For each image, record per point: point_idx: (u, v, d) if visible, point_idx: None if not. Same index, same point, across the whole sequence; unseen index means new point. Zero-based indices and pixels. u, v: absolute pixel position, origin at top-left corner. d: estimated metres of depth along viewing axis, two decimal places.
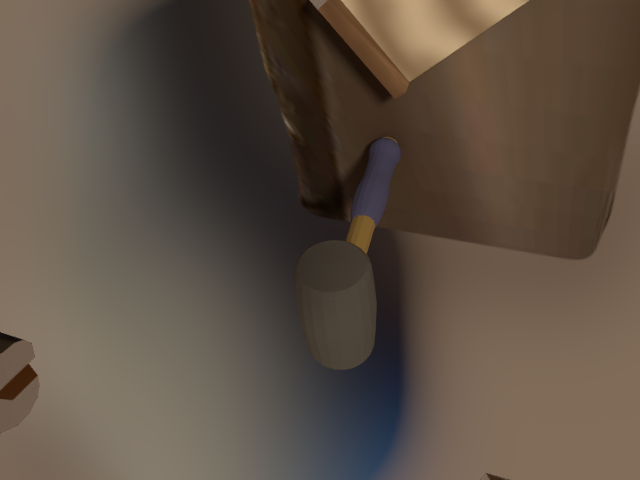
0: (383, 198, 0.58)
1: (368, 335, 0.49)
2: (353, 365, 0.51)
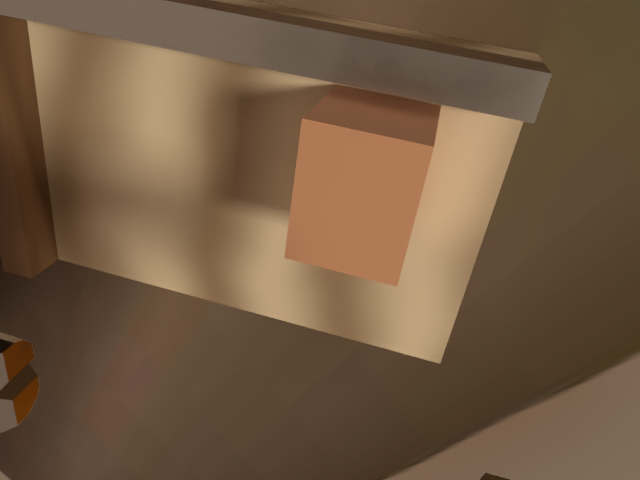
0: None
1: None
2: None
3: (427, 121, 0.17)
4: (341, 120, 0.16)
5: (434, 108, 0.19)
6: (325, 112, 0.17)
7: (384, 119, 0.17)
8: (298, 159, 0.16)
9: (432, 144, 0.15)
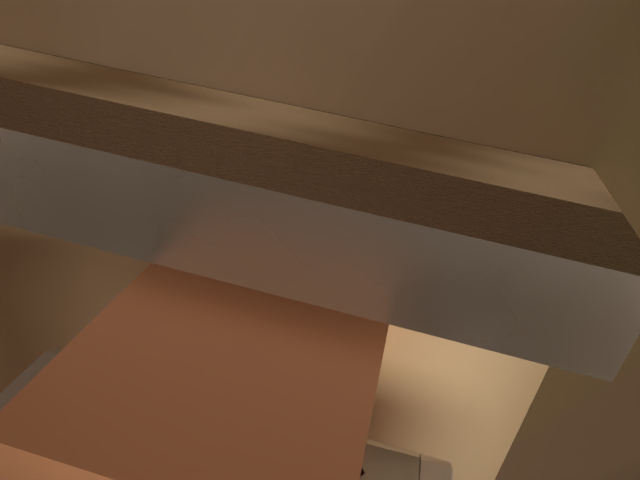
0: None
1: None
2: None
3: (353, 373, 0.07)
4: (105, 421, 0.06)
5: None
6: (81, 374, 0.06)
7: (240, 383, 0.07)
8: None
9: None
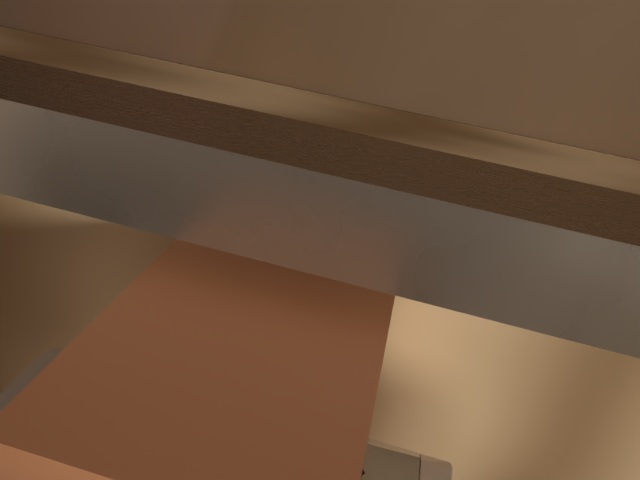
0: None
1: None
2: None
3: (354, 373, 0.07)
4: (105, 421, 0.06)
5: (381, 298, 0.09)
6: (82, 375, 0.06)
7: (241, 383, 0.07)
8: None
9: None
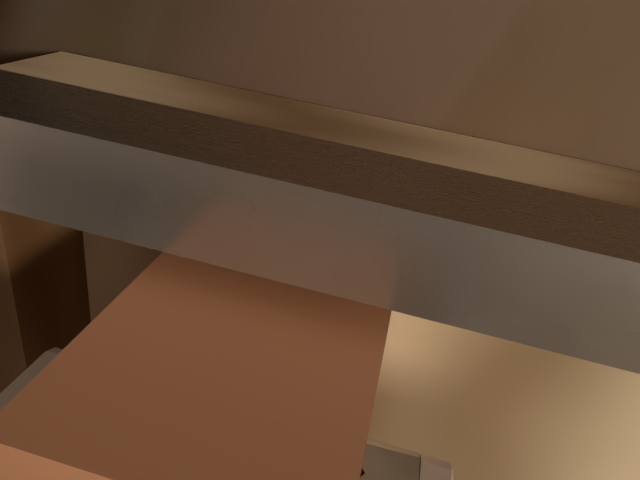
0: None
1: None
2: None
3: (353, 373, 0.07)
4: (104, 421, 0.06)
5: None
6: (82, 375, 0.06)
7: (240, 383, 0.07)
8: None
9: None
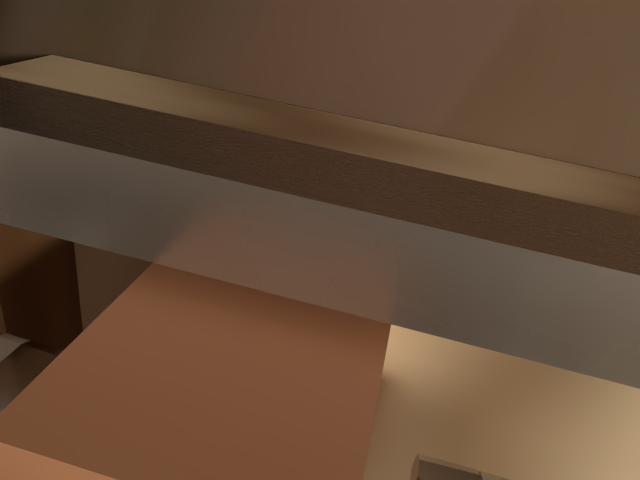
0: None
1: None
2: None
3: (356, 372, 0.07)
4: (107, 420, 0.06)
5: None
6: (84, 374, 0.06)
7: (242, 383, 0.07)
8: None
9: None
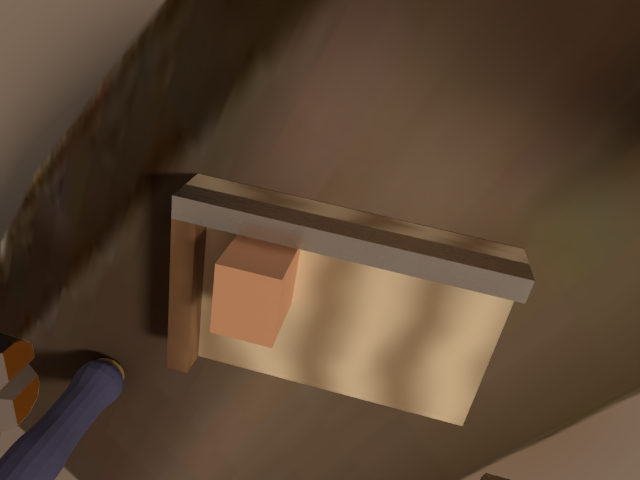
0: None
1: None
2: None
3: (286, 258, 0.32)
4: (237, 263, 0.30)
5: None
6: (229, 256, 0.31)
7: (262, 259, 0.31)
8: (214, 282, 0.31)
9: (282, 278, 0.30)
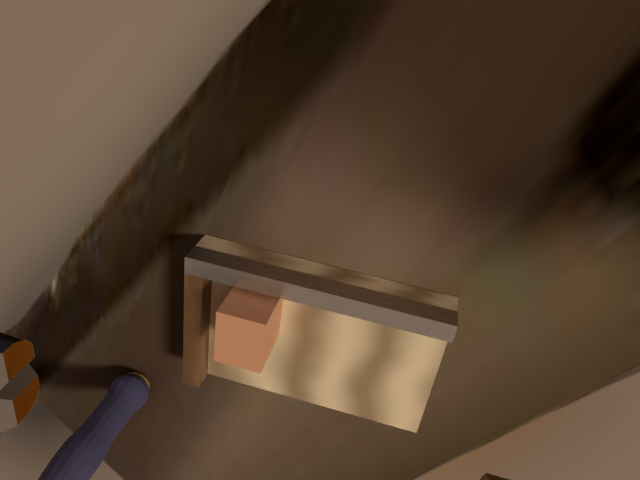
0: (90, 475, 0.47)
1: None
2: None
3: (271, 305, 0.42)
4: (232, 310, 0.40)
5: None
6: (227, 305, 0.41)
7: (252, 306, 0.41)
8: (216, 325, 0.41)
9: (265, 323, 0.40)
